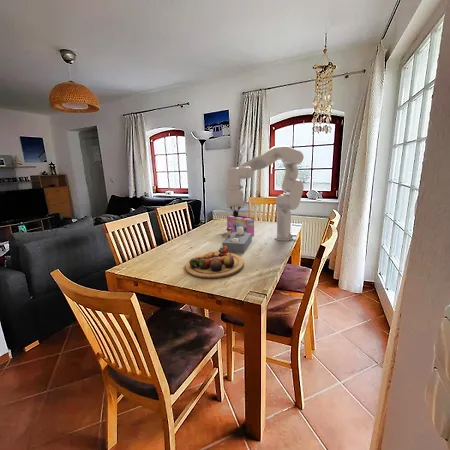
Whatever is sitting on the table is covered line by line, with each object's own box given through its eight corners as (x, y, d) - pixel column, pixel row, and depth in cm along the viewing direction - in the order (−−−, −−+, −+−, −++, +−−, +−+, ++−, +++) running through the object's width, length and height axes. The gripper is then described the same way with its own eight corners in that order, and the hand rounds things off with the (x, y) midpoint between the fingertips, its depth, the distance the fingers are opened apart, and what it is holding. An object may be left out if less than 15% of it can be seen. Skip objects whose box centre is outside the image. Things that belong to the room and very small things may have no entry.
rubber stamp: (231, 236, 166) (231, 227, 165) (230, 237, 164) (230, 228, 162) (227, 236, 167) (227, 227, 166) (226, 237, 164) (225, 228, 163)
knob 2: (244, 235, 172) (243, 226, 170) (242, 237, 168) (242, 228, 166) (238, 235, 173) (237, 226, 172) (236, 237, 169) (236, 227, 167)
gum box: (225, 232, 200) (225, 215, 197) (232, 230, 205) (232, 214, 202) (247, 237, 183) (247, 219, 180) (254, 235, 188) (254, 217, 185)
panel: (251, 241, 174) (251, 232, 173) (244, 253, 152) (243, 243, 150) (232, 240, 178) (232, 232, 177) (222, 251, 156) (222, 242, 155)
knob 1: (239, 248, 160) (239, 238, 158) (237, 250, 156) (237, 240, 154) (232, 247, 161) (232, 237, 160) (231, 249, 157) (230, 239, 156)
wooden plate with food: (213, 252, 157) (212, 239, 155) (255, 262, 137) (254, 248, 135) (173, 270, 133) (171, 256, 131) (217, 286, 113) (216, 270, 111)
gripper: (247, 187, 154) (248, 215, 158) (224, 187, 158) (226, 215, 163) (245, 188, 147) (246, 218, 151) (221, 189, 151) (223, 218, 156)
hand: (236, 216), depth 157 cm, fingers closed
